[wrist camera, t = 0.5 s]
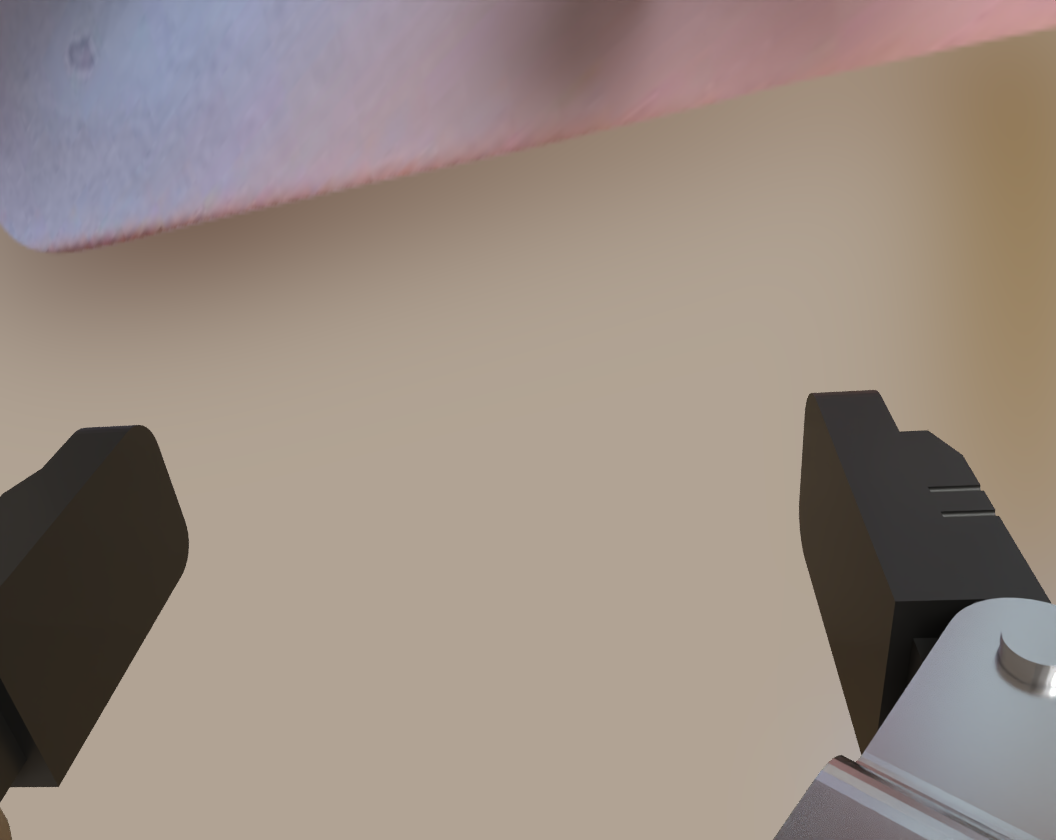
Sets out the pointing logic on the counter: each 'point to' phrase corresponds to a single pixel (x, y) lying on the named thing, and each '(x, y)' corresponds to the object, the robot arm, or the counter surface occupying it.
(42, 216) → the counter surface
